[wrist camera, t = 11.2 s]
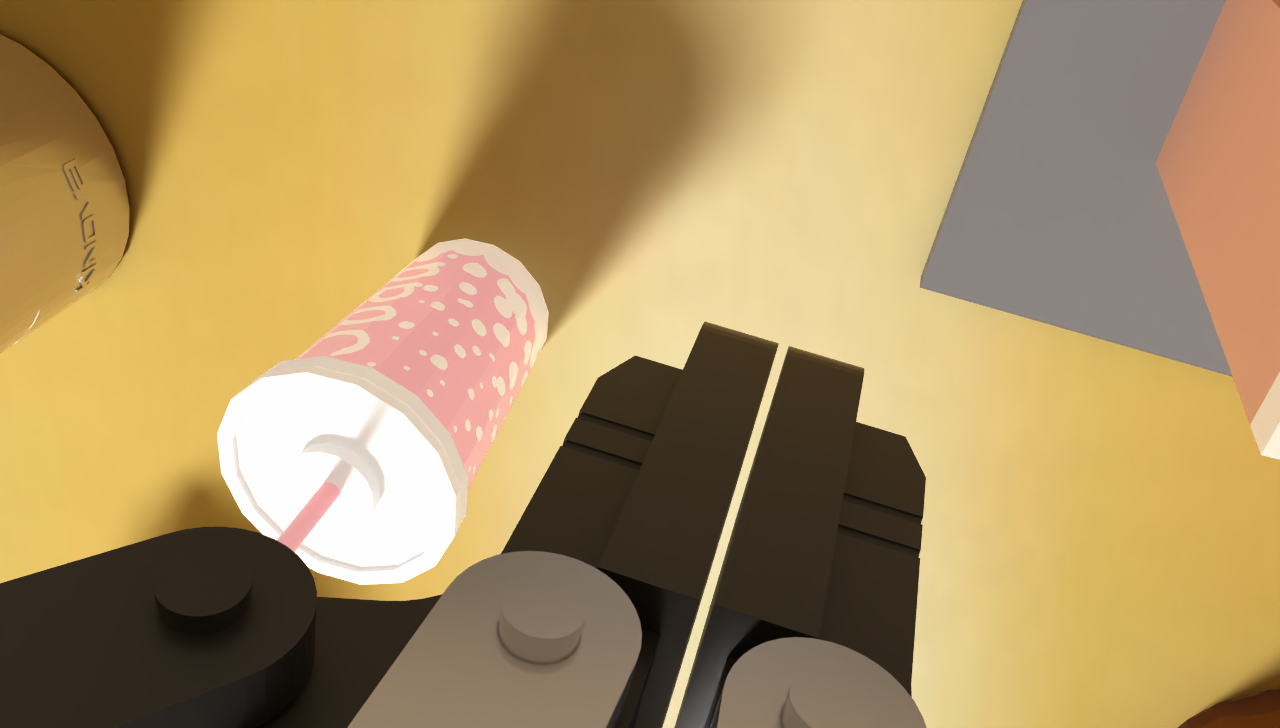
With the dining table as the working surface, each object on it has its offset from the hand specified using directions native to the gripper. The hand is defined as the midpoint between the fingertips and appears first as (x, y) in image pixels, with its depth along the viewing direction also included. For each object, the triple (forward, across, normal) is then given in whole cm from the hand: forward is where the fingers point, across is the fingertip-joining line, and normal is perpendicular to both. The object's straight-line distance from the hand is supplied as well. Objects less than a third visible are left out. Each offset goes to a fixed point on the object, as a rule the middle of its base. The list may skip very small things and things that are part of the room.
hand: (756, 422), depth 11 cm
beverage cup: (+19, +9, +12) cm, 24 cm away
